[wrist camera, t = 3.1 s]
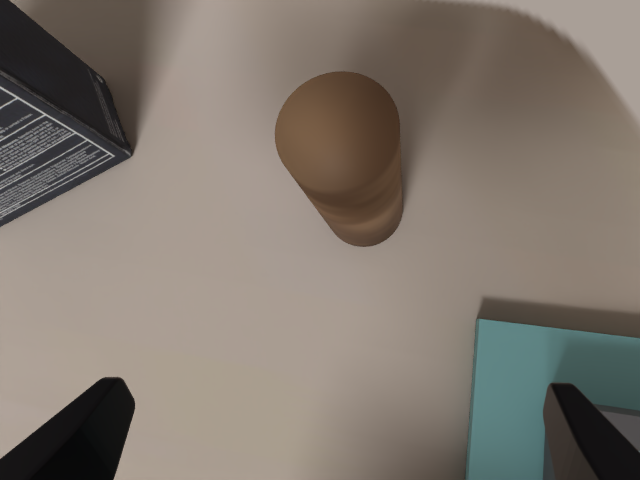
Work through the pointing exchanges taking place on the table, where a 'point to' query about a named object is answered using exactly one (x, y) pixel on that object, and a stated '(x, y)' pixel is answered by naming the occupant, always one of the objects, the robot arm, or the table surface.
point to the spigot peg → (345, 154)
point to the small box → (49, 118)
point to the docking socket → (542, 392)
